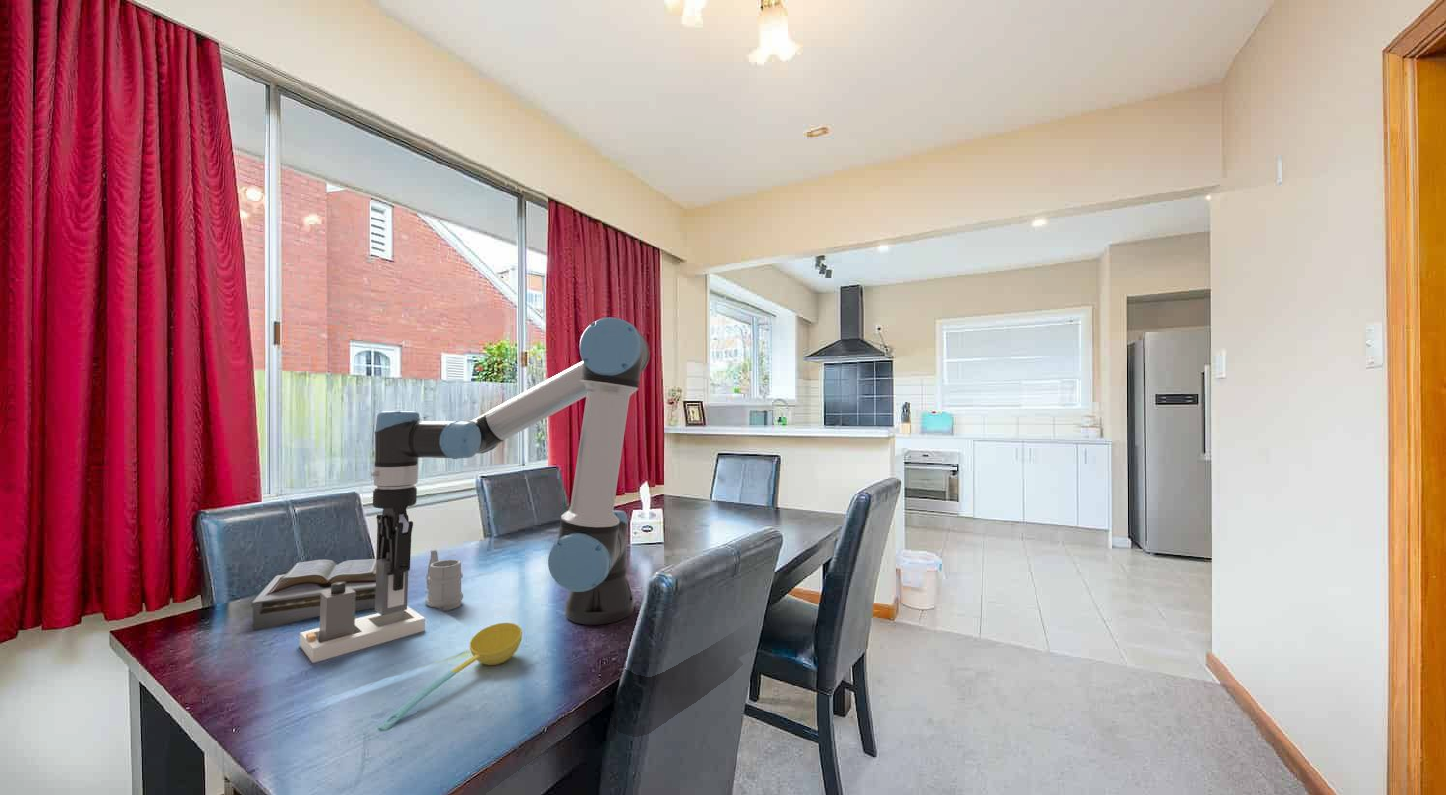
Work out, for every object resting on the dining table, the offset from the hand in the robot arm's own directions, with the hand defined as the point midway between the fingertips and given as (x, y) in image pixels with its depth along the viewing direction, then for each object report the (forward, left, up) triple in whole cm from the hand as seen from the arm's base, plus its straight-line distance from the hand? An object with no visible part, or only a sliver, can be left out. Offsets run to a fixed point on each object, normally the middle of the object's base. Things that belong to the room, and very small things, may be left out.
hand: (391, 602), depth 103 cm
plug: (0, 0, -1) cm, 1 cm away
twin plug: (0, +9, -6) cm, 11 cm away
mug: (+11, -14, -7) cm, 19 cm away
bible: (+28, +3, -7) cm, 30 cm away
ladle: (-29, -1, -7) cm, 30 cm away
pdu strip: (0, +4, -7) cm, 8 cm away
